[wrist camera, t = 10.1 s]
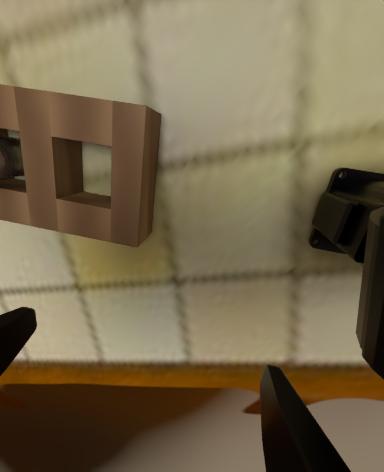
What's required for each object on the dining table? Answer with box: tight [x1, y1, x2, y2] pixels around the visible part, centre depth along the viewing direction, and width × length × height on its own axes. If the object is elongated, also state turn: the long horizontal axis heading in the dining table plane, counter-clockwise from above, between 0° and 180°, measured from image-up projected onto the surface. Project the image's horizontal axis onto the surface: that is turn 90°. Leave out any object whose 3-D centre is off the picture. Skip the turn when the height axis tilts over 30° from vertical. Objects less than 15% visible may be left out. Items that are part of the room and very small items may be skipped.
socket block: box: [0, 84, 161, 247], centre depth 18 cm, size 16×10×4 cm, turn 81°
